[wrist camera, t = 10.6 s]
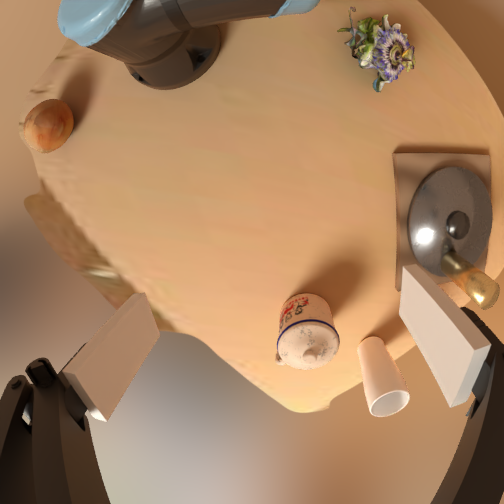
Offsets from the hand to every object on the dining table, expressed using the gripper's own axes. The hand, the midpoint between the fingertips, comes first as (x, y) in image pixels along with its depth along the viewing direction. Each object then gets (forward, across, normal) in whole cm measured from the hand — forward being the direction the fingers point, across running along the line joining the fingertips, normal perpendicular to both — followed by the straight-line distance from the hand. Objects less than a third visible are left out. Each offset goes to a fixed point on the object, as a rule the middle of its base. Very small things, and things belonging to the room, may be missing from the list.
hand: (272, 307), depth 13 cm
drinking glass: (+29, -14, +28) cm, 43 cm away
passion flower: (+29, -17, -22) cm, 40 cm away
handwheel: (+27, -28, +5) cm, 39 cm away
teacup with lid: (+29, -1, +20) cm, 35 cm away
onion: (+29, +36, -22) cm, 51 cm away
